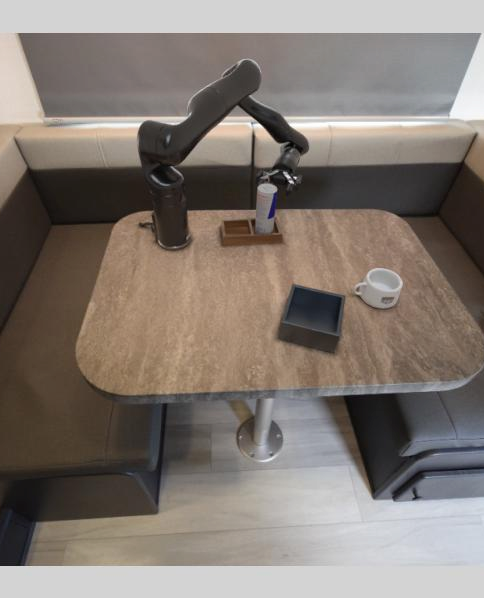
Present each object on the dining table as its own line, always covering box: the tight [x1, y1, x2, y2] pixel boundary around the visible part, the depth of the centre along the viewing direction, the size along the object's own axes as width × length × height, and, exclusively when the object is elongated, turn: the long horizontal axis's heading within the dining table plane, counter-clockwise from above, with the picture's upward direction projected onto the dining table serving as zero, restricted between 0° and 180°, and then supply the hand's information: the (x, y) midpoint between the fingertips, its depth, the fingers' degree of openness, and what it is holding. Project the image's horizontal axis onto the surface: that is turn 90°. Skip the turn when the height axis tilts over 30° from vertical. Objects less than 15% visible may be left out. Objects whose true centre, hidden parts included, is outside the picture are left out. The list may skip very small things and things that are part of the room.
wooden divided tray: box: [220, 216, 283, 246], centre depth 106 cm, size 9×17×3 cm, turn 97°
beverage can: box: [255, 184, 278, 234], centre depth 102 cm, size 6×6×15 cm
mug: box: [352, 267, 404, 310], centre depth 88 cm, size 12×10×6 cm
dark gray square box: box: [277, 283, 346, 354], centre depth 81 cm, size 13×13×6 cm
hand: (273, 190), depth 107 cm, fingers open, 8 cm apart
